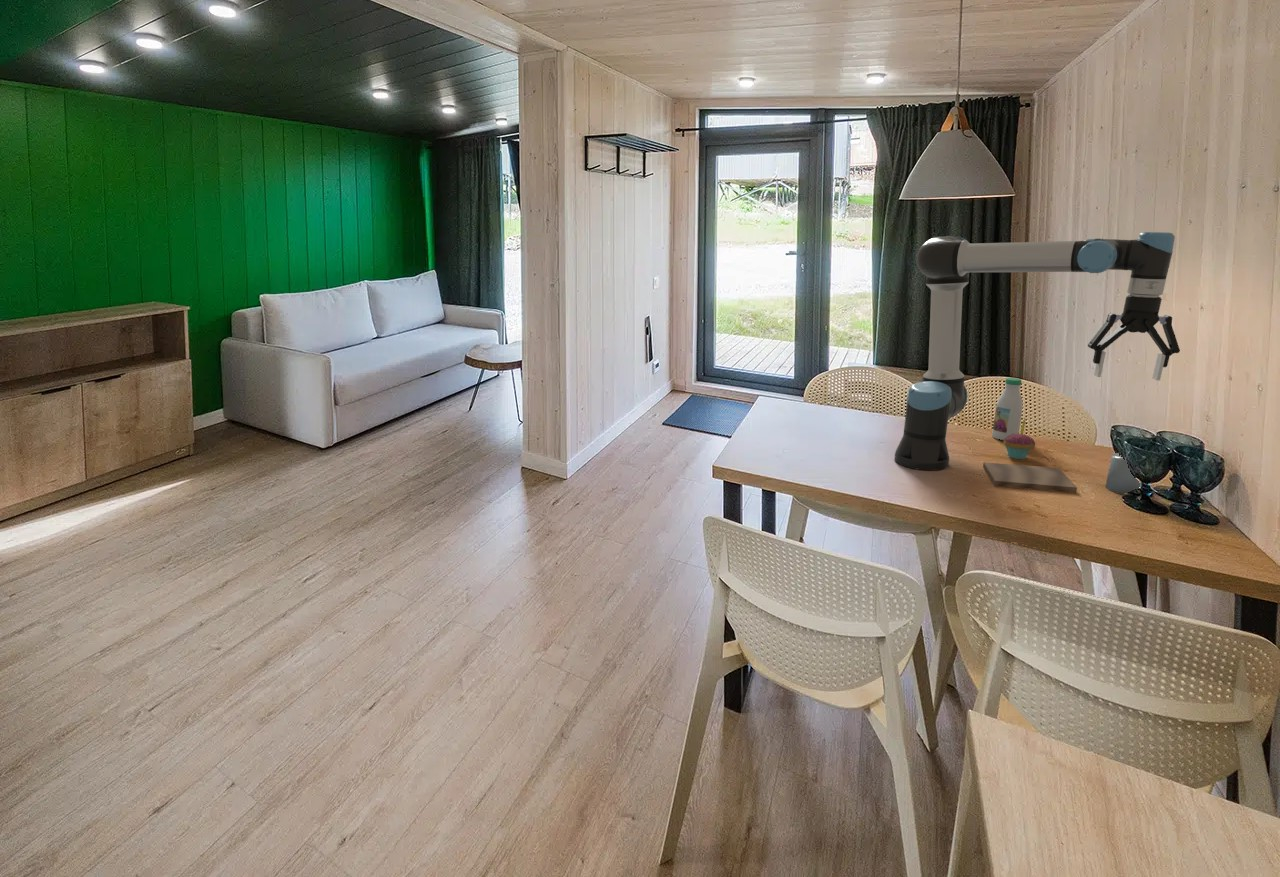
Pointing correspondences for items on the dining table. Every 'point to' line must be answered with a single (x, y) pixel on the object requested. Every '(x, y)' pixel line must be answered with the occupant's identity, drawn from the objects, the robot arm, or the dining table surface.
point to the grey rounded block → (1120, 476)
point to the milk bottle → (1008, 410)
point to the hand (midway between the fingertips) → (1126, 377)
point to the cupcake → (1019, 444)
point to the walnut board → (1029, 477)
